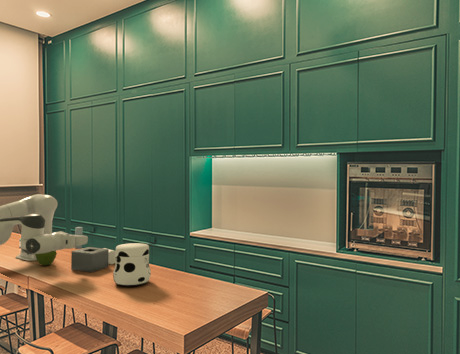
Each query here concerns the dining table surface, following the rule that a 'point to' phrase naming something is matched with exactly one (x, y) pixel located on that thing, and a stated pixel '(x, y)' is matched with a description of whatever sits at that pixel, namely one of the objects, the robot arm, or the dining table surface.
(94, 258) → the grey square box
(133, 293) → the dining table surface
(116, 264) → the milk container
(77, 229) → the grey rounded cylinder
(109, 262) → the mug
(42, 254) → the apple
